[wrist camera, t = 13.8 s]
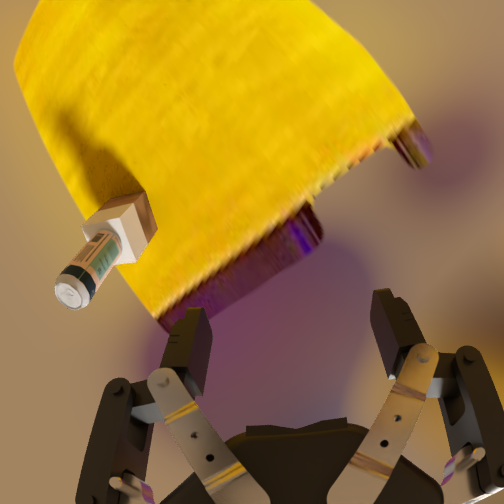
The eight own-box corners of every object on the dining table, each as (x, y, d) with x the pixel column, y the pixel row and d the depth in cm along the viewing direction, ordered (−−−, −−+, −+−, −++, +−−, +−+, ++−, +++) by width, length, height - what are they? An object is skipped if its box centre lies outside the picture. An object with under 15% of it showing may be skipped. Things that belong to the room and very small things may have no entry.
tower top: (96, 211, 41) (80, 226, 37) (133, 202, 40) (119, 217, 36) (111, 249, 45) (98, 266, 40) (147, 244, 44) (136, 261, 40)
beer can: (89, 243, 38) (47, 294, 28) (103, 221, 36) (57, 271, 26) (114, 263, 40) (78, 319, 30) (129, 243, 38) (91, 298, 28)
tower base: (110, 199, 45) (96, 211, 41) (145, 190, 45) (133, 202, 40) (123, 234, 49) (111, 249, 45) (157, 228, 48) (148, 243, 44)
